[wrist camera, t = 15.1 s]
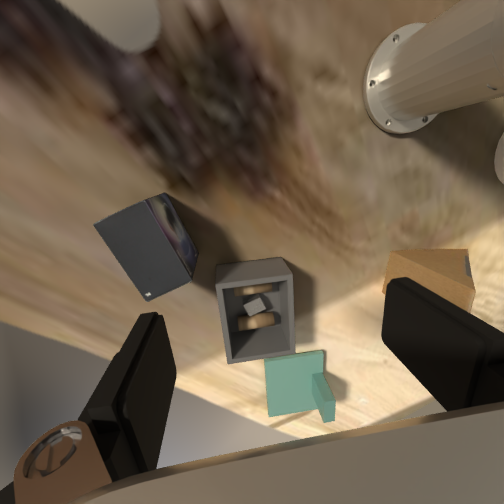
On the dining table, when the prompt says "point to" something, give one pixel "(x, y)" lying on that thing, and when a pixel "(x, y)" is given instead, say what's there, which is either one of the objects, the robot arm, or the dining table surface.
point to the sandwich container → (436, 272)
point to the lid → (298, 385)
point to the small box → (151, 245)
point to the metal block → (253, 304)
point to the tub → (278, 301)
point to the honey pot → (500, 159)
